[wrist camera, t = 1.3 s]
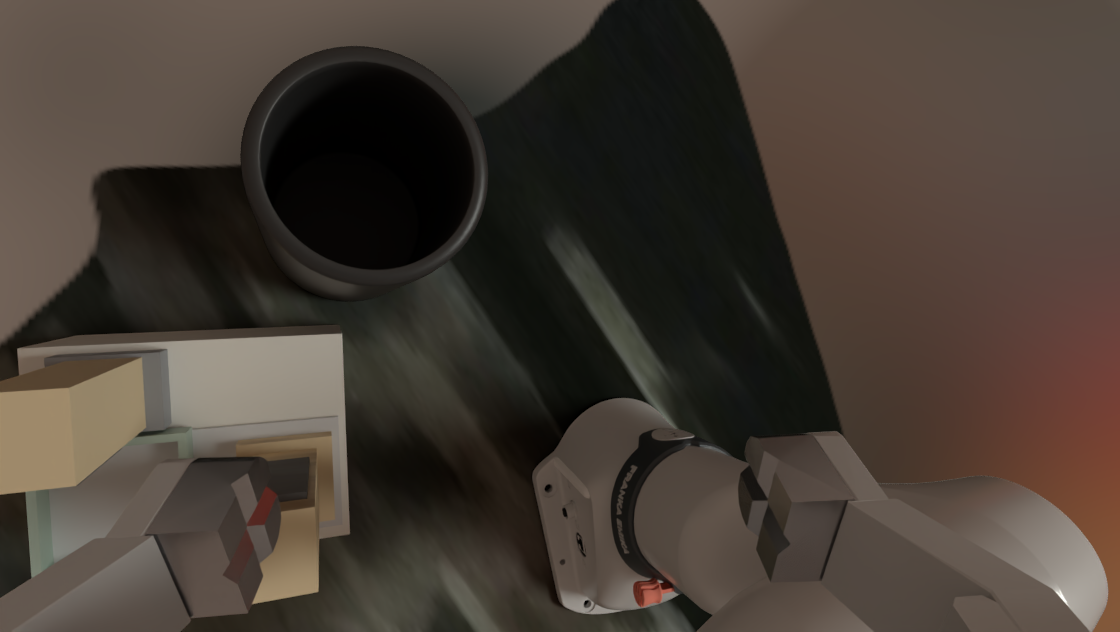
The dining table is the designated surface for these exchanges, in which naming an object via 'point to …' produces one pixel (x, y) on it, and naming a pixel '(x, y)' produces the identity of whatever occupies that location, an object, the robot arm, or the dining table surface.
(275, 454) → the block
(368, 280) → the vase
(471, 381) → the dining table surface
